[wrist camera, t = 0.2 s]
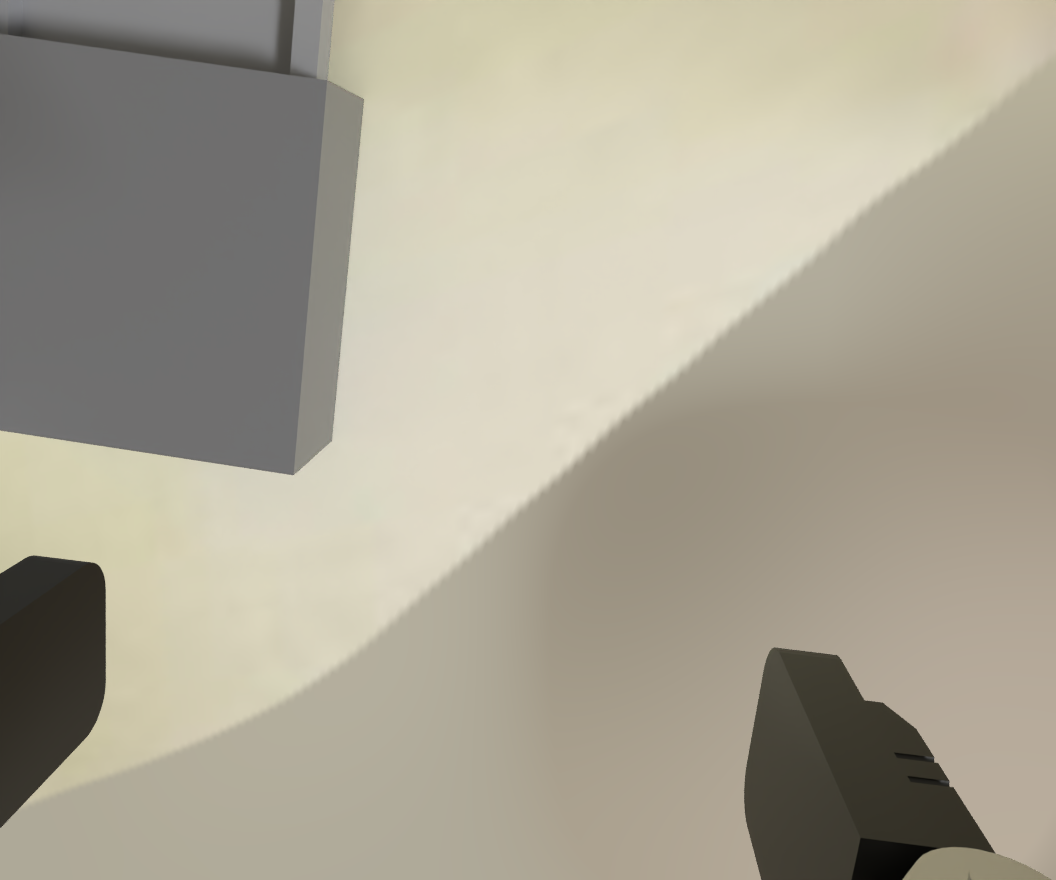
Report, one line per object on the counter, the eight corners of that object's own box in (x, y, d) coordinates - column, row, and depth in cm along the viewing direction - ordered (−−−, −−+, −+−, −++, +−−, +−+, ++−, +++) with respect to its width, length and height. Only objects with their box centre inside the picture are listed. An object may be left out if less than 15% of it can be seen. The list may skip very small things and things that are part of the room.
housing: (-8, 46, 38) (-105, 19, 33) (363, 98, 38) (327, 80, 32) (-10, 389, 41) (-99, 415, 36) (331, 440, 41) (293, 475, 36)
